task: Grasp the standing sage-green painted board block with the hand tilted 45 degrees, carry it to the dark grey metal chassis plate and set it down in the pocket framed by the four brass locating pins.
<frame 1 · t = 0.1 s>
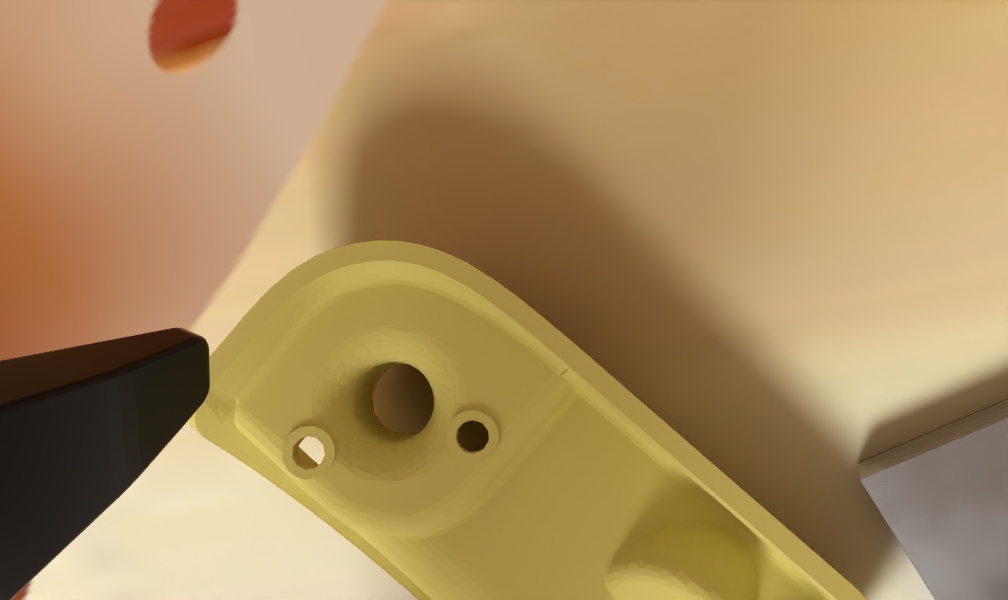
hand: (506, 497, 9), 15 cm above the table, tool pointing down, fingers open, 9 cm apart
plastic component: (560, 487, 27), on the table
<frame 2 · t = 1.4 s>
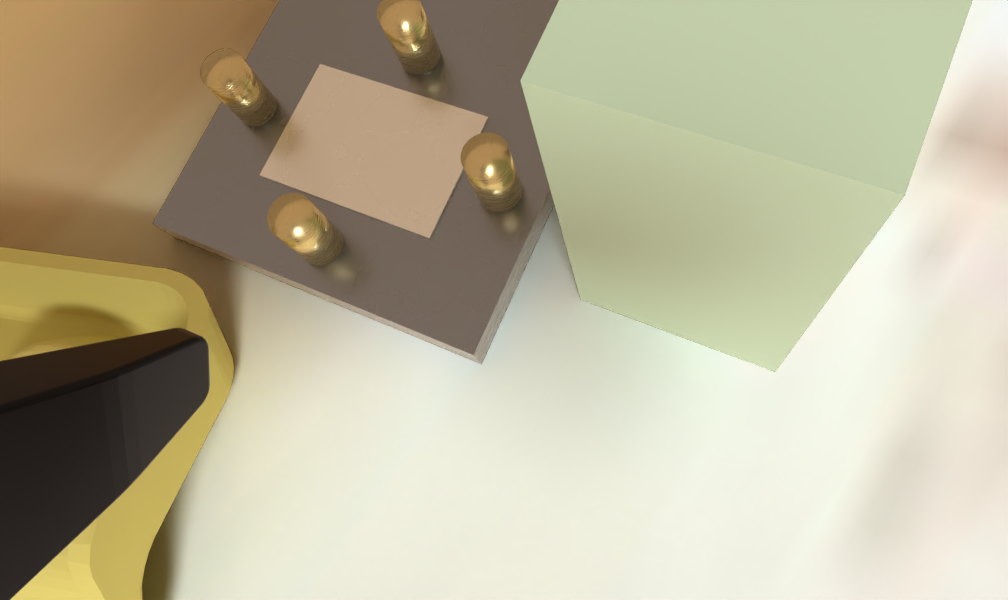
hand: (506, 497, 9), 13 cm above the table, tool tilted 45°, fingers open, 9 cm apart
board block: (698, 274, 24), on the table
chassis: (409, 115, 27), on the table
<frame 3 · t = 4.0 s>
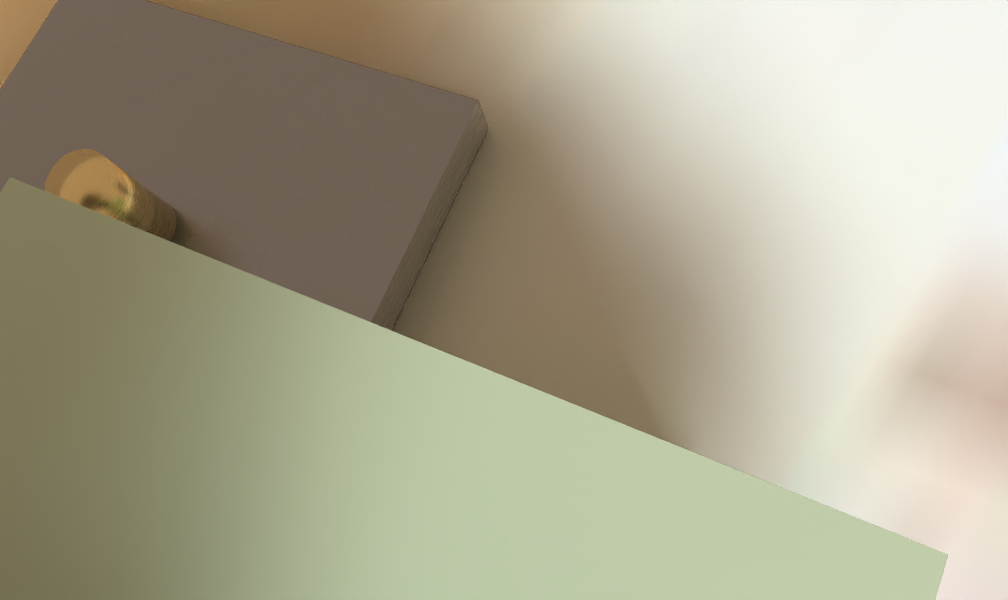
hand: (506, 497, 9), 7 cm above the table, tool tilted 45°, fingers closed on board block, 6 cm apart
board block: (532, 588, 15), on the table, touching gripper
chassis: (144, 305, 19), on the table
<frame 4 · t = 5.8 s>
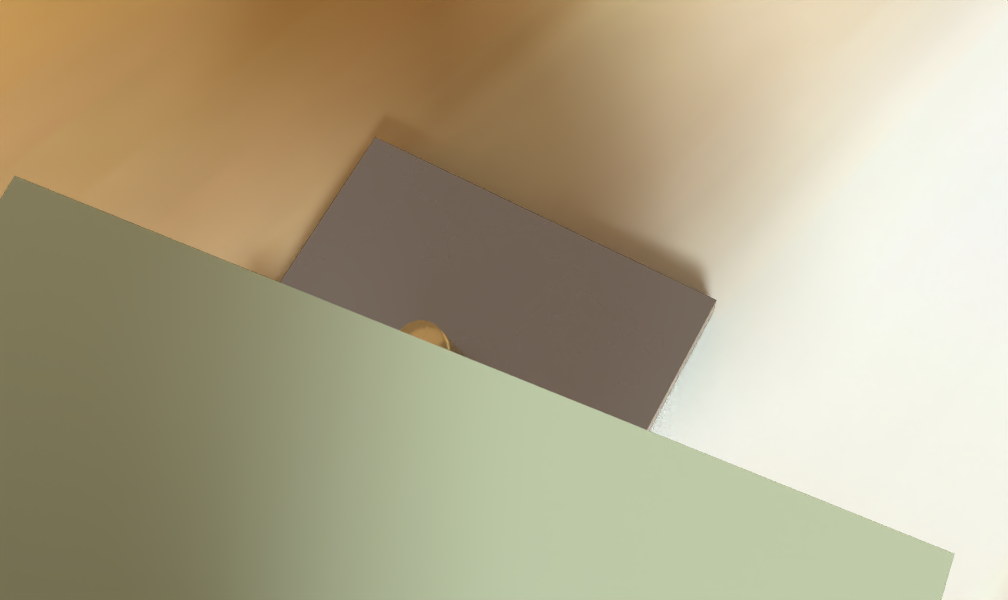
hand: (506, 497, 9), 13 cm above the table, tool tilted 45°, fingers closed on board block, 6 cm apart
board block: (534, 588, 15), point 7 cm above the table, touching gripper
chassis: (423, 420, 24), on the table
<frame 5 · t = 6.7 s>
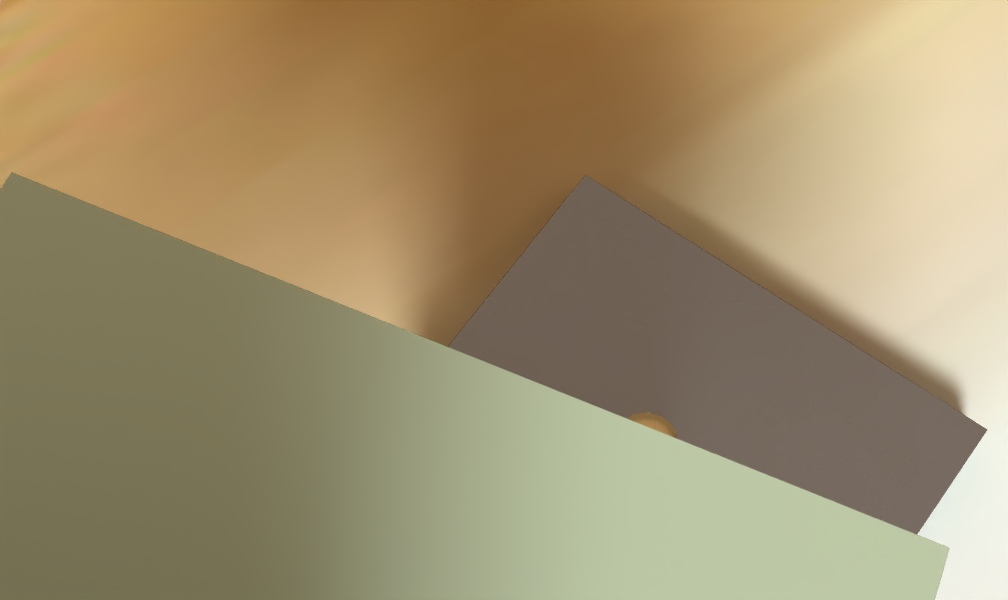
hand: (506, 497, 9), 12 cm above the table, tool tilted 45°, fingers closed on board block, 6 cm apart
board block: (533, 586, 15), point 6 cm above the table, touching gripper
chassis: (610, 508, 21), on the table
when the fingers open (9 cm above the table, at t = 7.7 s): board block drops 1 cm, resting on chassis.
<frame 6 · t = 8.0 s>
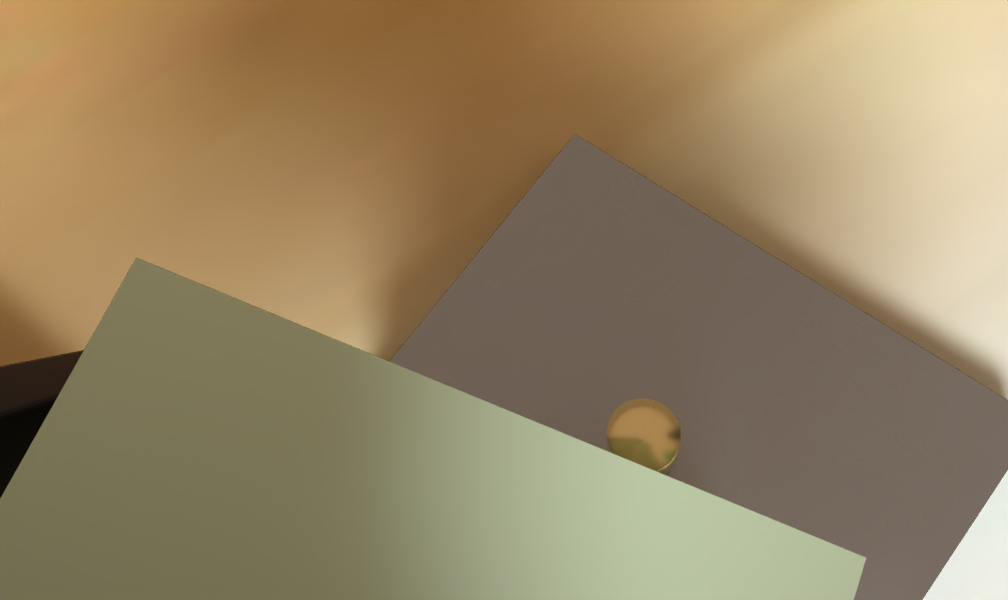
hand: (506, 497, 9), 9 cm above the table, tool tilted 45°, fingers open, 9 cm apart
board block: (542, 585, 17), point 1 cm above the table, touching chassis
chassis: (602, 511, 18), on the table
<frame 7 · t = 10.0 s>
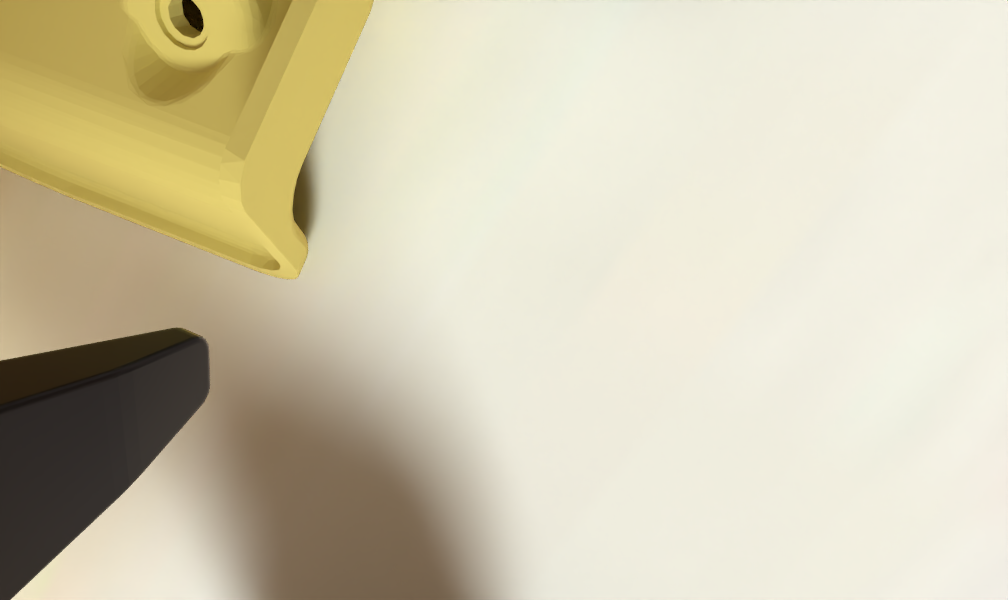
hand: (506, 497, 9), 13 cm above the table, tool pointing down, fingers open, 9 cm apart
plastic component: (125, 4, 26), on the table
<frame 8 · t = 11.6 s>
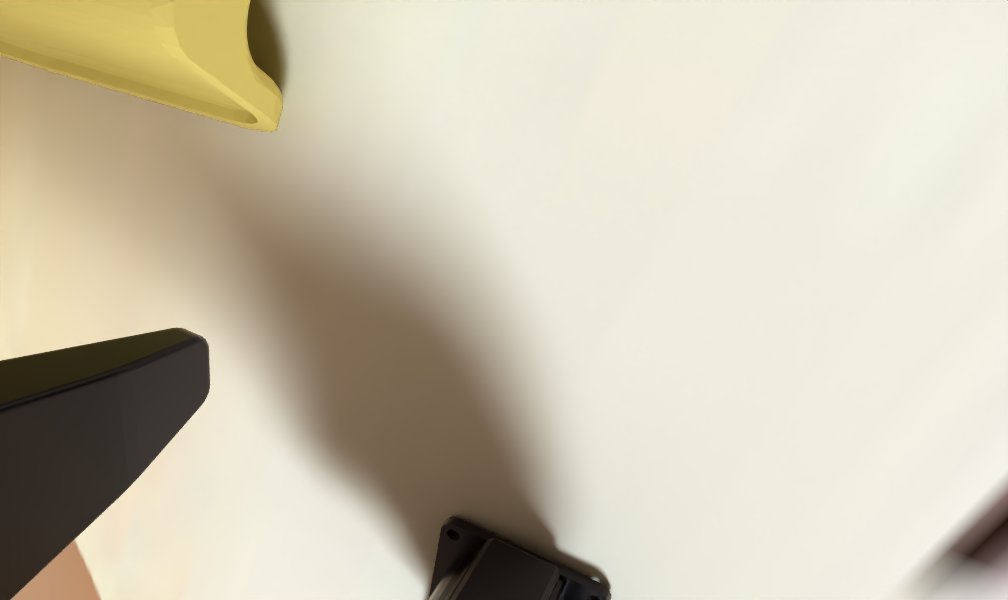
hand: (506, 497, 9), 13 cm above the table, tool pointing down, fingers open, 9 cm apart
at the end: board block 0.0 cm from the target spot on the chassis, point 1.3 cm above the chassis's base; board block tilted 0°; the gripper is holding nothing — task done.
